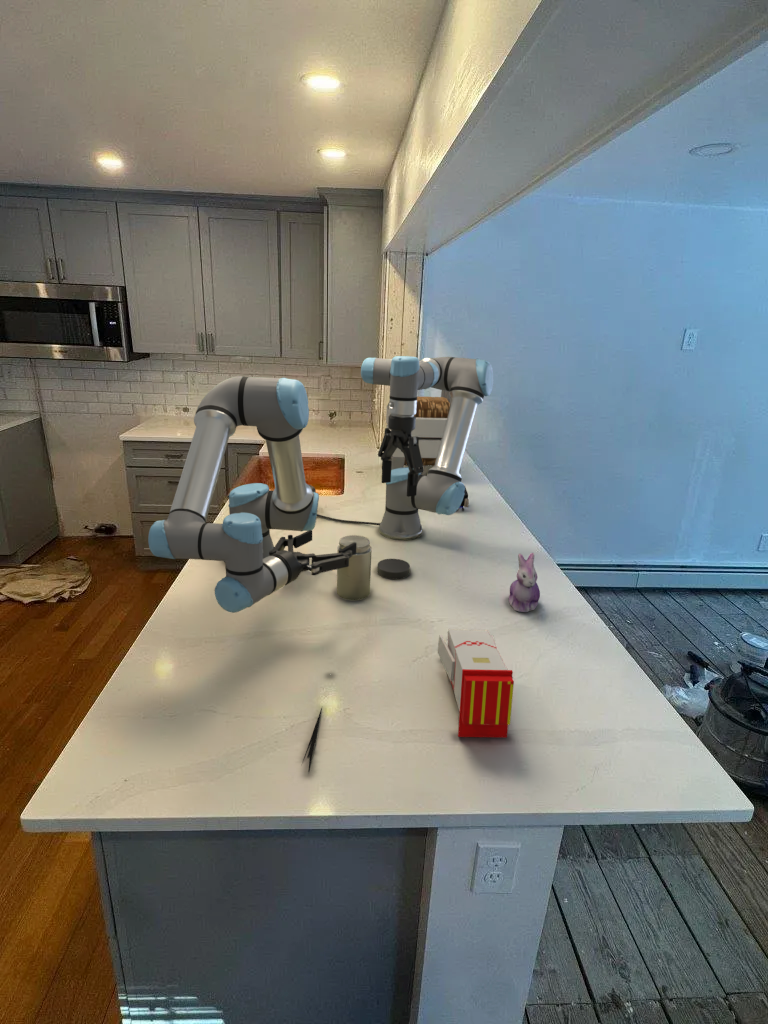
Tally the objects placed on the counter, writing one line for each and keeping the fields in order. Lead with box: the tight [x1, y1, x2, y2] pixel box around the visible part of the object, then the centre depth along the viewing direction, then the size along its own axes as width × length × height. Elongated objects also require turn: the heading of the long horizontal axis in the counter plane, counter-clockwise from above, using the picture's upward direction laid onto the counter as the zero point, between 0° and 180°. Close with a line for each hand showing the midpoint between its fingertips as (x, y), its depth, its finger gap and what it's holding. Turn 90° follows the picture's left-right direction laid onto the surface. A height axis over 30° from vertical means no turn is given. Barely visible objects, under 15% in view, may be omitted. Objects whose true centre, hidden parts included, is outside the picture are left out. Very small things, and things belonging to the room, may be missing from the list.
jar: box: [336, 534, 373, 601], centre depth 155 cm, size 9×9×16 cm
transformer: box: [385, 390, 462, 475], centre depth 268 cm, size 34×33×41 cm
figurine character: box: [458, 486, 470, 512], centre depth 229 cm, size 7×8×15 cm
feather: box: [301, 673, 332, 771], centre depth 108 cm, size 2×28×2 cm
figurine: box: [508, 552, 541, 613], centre depth 152 cm, size 9×10×15 cm
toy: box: [437, 628, 515, 738], centre depth 117 cm, size 12×13×30 cm
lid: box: [376, 558, 411, 580], centre depth 171 cm, size 10×10×2 cm
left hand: (332, 541), depth 143 cm, fingers open, 13 cm apart
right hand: (398, 489), depth 162 cm, fingers open, 13 cm apart
